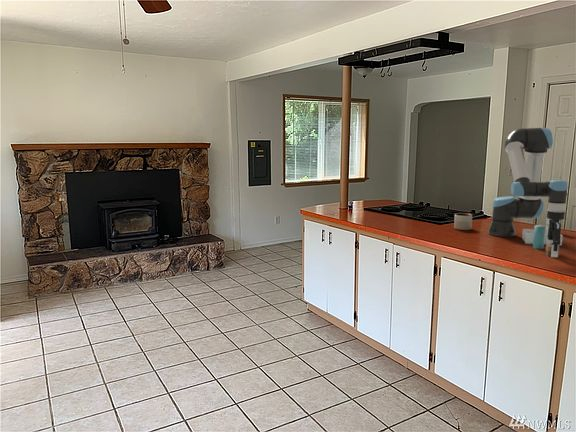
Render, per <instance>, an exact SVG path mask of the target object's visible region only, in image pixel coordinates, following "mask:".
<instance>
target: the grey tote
mask: <svg viewBox="0 0 576 432" xmlns="http://www.w3.org/2000/svg"><path fill="white" fill-rule="evenodd" d="M547 236H548V230H546V229H545V235H544V246H546V244H548V237H547ZM563 237H564V236H563V234H561V233H560V244H559V247H560V246H561V247H562V246H563ZM521 239H522V241H523V242H524V243H525V244H526V245H527V244H528V245H533V239H534V228H522V235H521Z"/></svg>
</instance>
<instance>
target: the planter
mask: <svg viewBox="0 0 576 432" xmlns="http://www.w3.org/2000/svg"><path fill="white" fill-rule="evenodd" d="M453 225H454V226H453V228H454V229H456V230H458V231H470V230H472V227H473V214H472V213H465V212H464V213H462V212H458V213H455V214H454V223H453Z"/></svg>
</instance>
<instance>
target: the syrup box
mask: <svg viewBox="0 0 576 432" xmlns="http://www.w3.org/2000/svg"><path fill="white" fill-rule="evenodd" d="M547 211H549V210H546V212H547ZM549 220H551V219H548V218H547V216H546V219H545V230H548V229H549ZM559 223H560V224H561V225H562V220H559Z"/></svg>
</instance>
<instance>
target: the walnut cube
mask: <svg viewBox="0 0 576 432" xmlns="http://www.w3.org/2000/svg"><path fill="white" fill-rule="evenodd" d="M560 248H561V247H560V246H559V247H558V257H557V258H559V257H560ZM551 251H552V245H550V244H546V245H545V255H546V256H547V257H551Z"/></svg>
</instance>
